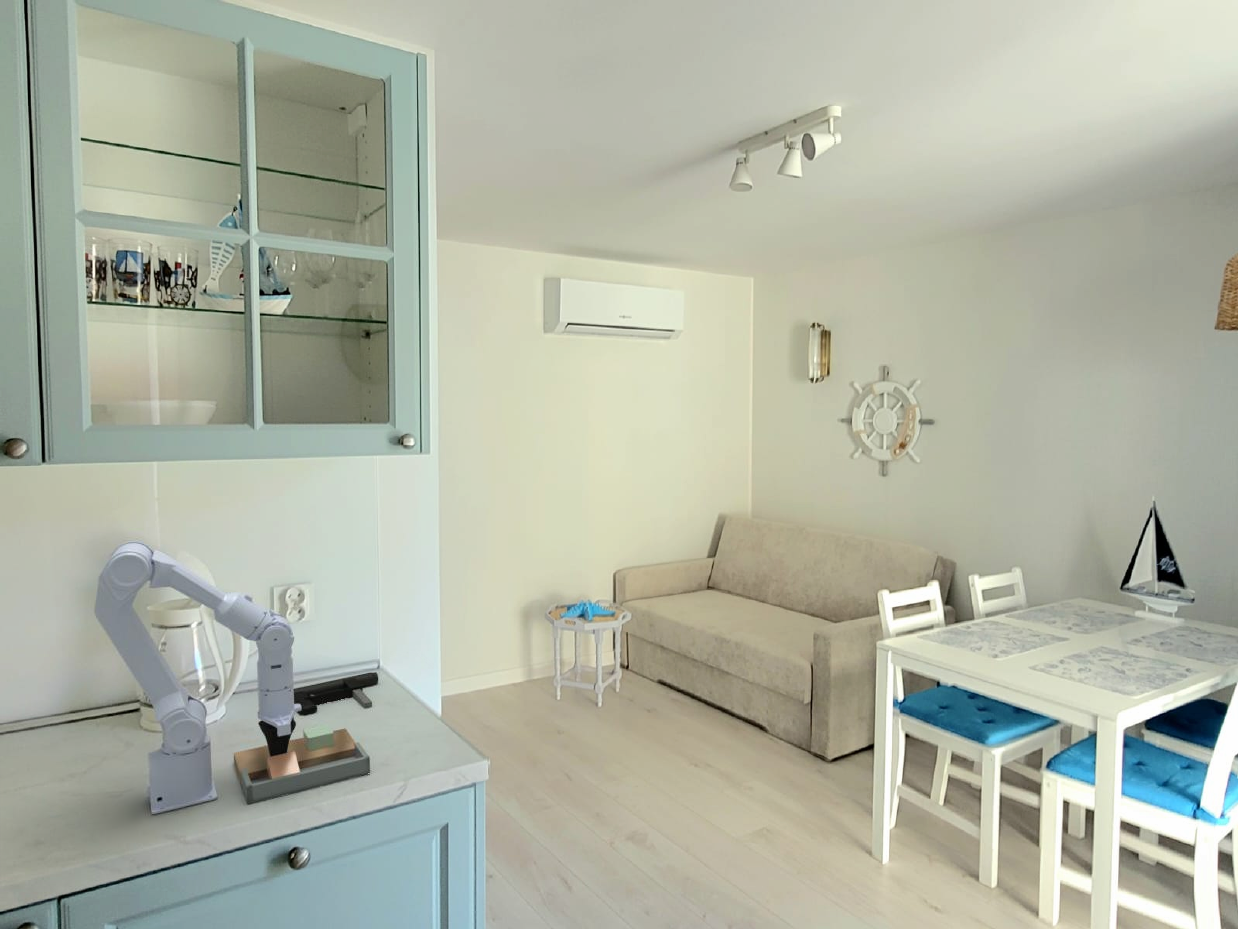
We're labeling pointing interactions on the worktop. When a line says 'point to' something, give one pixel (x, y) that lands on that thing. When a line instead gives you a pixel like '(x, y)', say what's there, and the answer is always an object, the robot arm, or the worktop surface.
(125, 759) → the worktop surface
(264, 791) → the tray
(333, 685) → the door handle
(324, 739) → the sage tile
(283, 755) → the terracotta tile
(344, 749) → the walnut board
